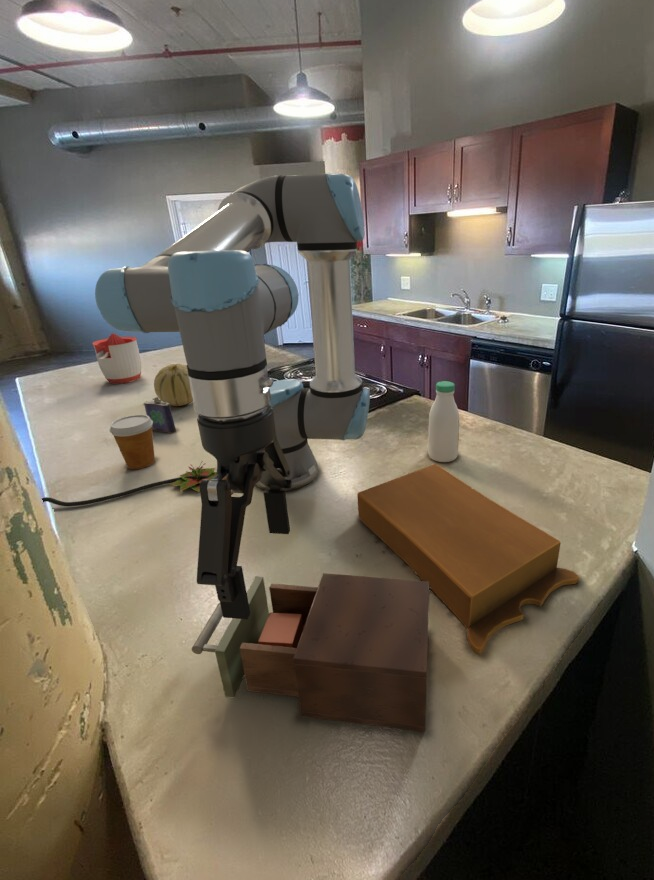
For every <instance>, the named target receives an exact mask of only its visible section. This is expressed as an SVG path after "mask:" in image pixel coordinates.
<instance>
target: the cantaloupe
mask: <svg viewBox="0 0 654 880" xmlns="http://www.w3.org/2000/svg"><path fill="white" fill-rule="evenodd" d="M153 388H154V392H155V395H156V397H158V396H159V397H158V398H159V400H162V401H161V402H166V403H169V404H170V406H173V407H178V406H179V407H182V406H185V405H189V404H190V403H193V399H192V394H191V388H190V382H189V377H188V370H187V364H183V363H171V364H167V365H166V366H163V367H162V368H161V369H160V370H159V371H158V372H157V373H156V375H155V377H154V381H153Z"/></svg>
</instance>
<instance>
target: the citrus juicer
mask: <svg viewBox="0 0 654 880" xmlns="http://www.w3.org/2000/svg"><path fill="white" fill-rule="evenodd" d="M92 346H93V348H94V352H95V359H96V360H97V363H98V366H99V369H100V371H101V373H102V375H103V376H104V378H105V379H106V381H107V382H108V383H110V384H128V383H130V382H135V381H137V380H139V379H141V375H142V359H141V354H140V350H139V346H138V342H137V337H135V336H119V335H118V334H116V333H114V332H113V333H111V334H110V335H109V337H108V338H103V339H98V340H96V341H95V340H94V341H93V342H92Z"/></svg>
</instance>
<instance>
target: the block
mask: <svg viewBox="0 0 654 880" xmlns="http://www.w3.org/2000/svg"><path fill="white" fill-rule="evenodd" d="M302 632H303V622H302V614H287V613H273V612H269V616H268V618H267V621H266V623H265V626H264V628H263V631H262V633H261V636H260V638H259V641H258V643H259V644H262V645H272V646H282V647H291V648H297V646H298V643H299V641H300V638H301V635H302Z"/></svg>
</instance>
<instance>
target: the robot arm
mask: <svg viewBox="0 0 654 880" xmlns="http://www.w3.org/2000/svg"><path fill="white" fill-rule="evenodd" d="M365 232H366V231H365V219H364V213H363V207H362V202H361V197H360V193H359V190H358V186H357V184H356V181H355V180H354V179H353V177H352V176H351V175H349V174H345V173H331V172H325V173H310V174H309V173H307V174H287V175H282V174H281V175H280V174H277V175H271V176H265V177H263V178H262V177H261V178H259V179H256V180H254V181H252V182H250V183H247V184H245V185H244V186H241V187H239V188H238V189H236V190H234V191H232V192H231V193H230V194H228V195H227V196H226V197H224V198H223V199H222V200H221V202H220V203H219V205H218V208H217V211H216V212H214V214H212V215H211V216H210V217H208V218H207V219H205V220H204V221H203V222H201V223H200V224H198V225H197V226H196V227H194V228H193V229H192V230H190V231H189V232H187V233H186V234H185V235H183V236H182V237H181V238H179V239H178V240H176V241H175V242H174V243H173V244H171V245H169V246H168V247H167V248H165V249H164V250H163V251H161V252H160V253H159V254H157V255H156V256H154V257H153V258H152V259H150V260H149V261H148V262H146V263H144V264H143V265H141V266H138V267H131V266H123V267H119V268H110V269H108V270H105V271H104V272H102V273H101V274H100V276H99V277H98V279H97V281H96V284H95V290H94V299H95V303H96V307H97V309H98V310H99V312H100V314H101V316H102V318H103V320H104V321H105V322H106V323H107V324H108V325H109V326H110V327H112V328H113V329H115V330H118V331H122V332H137V333H143V334H149V333H179V335H180V339H181V344H182V348H183V353H184V357H185V362H186V366H187V370H188V377H189V382H190V388H191V394H192V399H193V401H192V404H193V410H194V412H195V413H196V414H198V416H197V417H196V423H197V426H198V431H199V436H200V442H201V446H202V448H203V450H204V451H205V452H206V453H208V454H210V455H211V456H213V458H215V459H216V472H217V476H216V477H215V478H213V479H212V480H211V479H205V478H209V477H211V476H206V475H200V479H203V480H202V481H201V483H200V492H199V493H200V501H201V510H200V525H199V539H198V540H199V541H198V553H197V555H198V556H197V568H196V569H197V570H196V584H197V585H204V586H205V585H206V586H214V587H215V591H216V596H217V600H218V601H219V603H220V605H221V609H222V614H223V617H222V618H224V619H225V618H226V619H233V618H236V619H248V617H249V615H250V609H249V603H248V598H247V588H246V582H245V576H244V571H243V566H242V565H238V561H239V555H240V548H241V543H242V535H243V529H244V523H245V517H246V512H247V511H246V510H247V507H249V506H250V505H251V504H252V502H253V495H254V489H255V486H257V487H258V488H260V489H262V490H264V492H263V499H264V507H265V514H266V519H267V527H268V533H269V534H274V535H276V534H277V535H289V534H290V533H291V527H290V526H291V525H290V518H289V517H290V516H289V510H288V509H289V508H288V502H287V493H286V492H288V491H293V490H297V489H300V488H303V487H304V486H307V485H308V484H310V483H311V482H313V481H314V480H315V479H316V477H317V476H318V473H319V468H318V461H317V459H316V457H315V456H314V455H315V454H314V453H313V451H312V449H311V447H310V445H309V440H332V441H333V440H336V441H337V440H338V441H340V440H341V441H343V442H344V441H346V440H359V439H361V438H363V436H364V434H365V433H366V427H367V422H368V417H369V411H370V403H371V402H370V401H371V391H370V389H369V388H367V387H363V379H362V378H361V377H360V376H358V374H356V365H355V344H354V341H355V340H354V320H353V299H352V298H353V297H352V296H353V295H352V279H351V275H352V274H351V259H352V258H353V256H354V255H355V254H356V253H357V251H358V244H357V243H360V242H362V241H363V240H364V239H365ZM269 243H296V245H297V246H296V247H297V253H298V254H299V255H300V256H301V257H303V259H304V260H305V261H306V272H307V284H308V297H309V309H310V321H311V333H312V343H313V344H312V345H313V356H314V357H313V358H314V368H315V376H314V377H313V378H312V380H311V381H310V382H309V387H304V383H303V382H302V381H301V380H300V379H296V378H285V379H278V380H274V381H273V378H272V377H269V372H268V370H269V369H268V361H267V353H266V343H265V335H266V334H268V333H269V332H271V331H273V330H275V329H277V328H278V327H279V328H280V327H282V326H284V325H285V324H286V323H287V322H288V321H289V319H290V318H291V317H292V316H293V315H294V314H295V312H296V310H297V308H298V305H299V290H298V286H297V284H296V281H295V280H294V278H293V277H292V276H291V274H290V273H288V272H287V271H286V270H285V269H283V268H282V267H280V266H277V265H273V264H269V263H255V261H254V258H253V256H252V255H251V254H250V252H251V250H257V249H259V248H261V247H263V246H264V245H265V244H269ZM198 476H199V475H198ZM195 477H196V476H195ZM195 477H194V476H186V477H185V478H190V479H196V478H195ZM180 479H181V480H184V479H182V478H181V477H174V478H169V479H165V480H161V481H156V482H153V483H149V484H144V485H141V486H138V487H135V488H131V489H128V490H125V491H122V492H118V493H113V494H109V495H104V496H101V497H96V498H92V499H91V498H90V499H86V500H78V501H70V502H68V501H62V500H60V499H59V500H58V499H56V498H53V497H48V496H45V497H42V498H41V499H42V500H43V503H45V502H47V503H51V504H54V505H57V506H61V507H78V506H79V507H80V506H85V505H86V506H87V505H92V504H96V503H101V502H105V501H109V500H113V499H117V498H121V497H122V498H123V497H125V496H128V495H132V494H134V493H137V492H138V493H139V492H141V491H144V490H147V489H151V488H156V487H159V486H165V485H169V484H173V483H174V482H176V481H177V480H180ZM198 479H199V477H198ZM233 494H238V495H239V494H242V496H233Z"/></svg>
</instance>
